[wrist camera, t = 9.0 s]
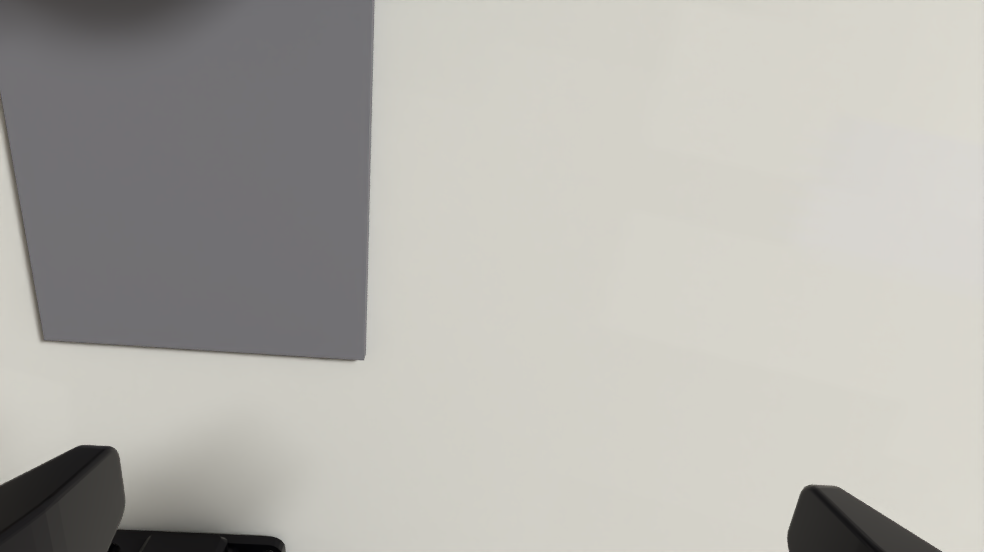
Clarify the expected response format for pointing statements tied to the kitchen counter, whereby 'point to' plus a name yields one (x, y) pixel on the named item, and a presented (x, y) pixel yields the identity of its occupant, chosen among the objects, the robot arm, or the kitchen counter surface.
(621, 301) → the kitchen counter surface
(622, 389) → the kitchen counter surface
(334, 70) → the mat
